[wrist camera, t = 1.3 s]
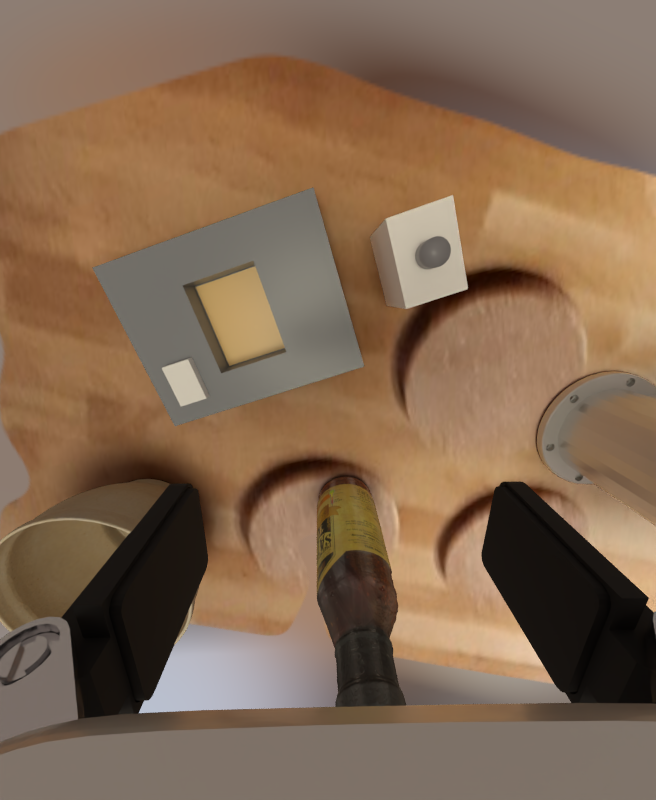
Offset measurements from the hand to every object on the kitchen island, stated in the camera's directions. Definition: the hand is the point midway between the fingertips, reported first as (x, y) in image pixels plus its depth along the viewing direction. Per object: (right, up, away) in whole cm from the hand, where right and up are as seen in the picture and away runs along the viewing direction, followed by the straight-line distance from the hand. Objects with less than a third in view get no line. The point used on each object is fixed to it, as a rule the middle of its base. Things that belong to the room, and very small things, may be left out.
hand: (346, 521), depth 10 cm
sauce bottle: (+1, -7, +26) cm, 27 cm away
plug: (+6, +16, +18) cm, 25 cm away
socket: (-8, +12, +19) cm, 24 cm away
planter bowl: (-20, -9, +26) cm, 34 cm away
